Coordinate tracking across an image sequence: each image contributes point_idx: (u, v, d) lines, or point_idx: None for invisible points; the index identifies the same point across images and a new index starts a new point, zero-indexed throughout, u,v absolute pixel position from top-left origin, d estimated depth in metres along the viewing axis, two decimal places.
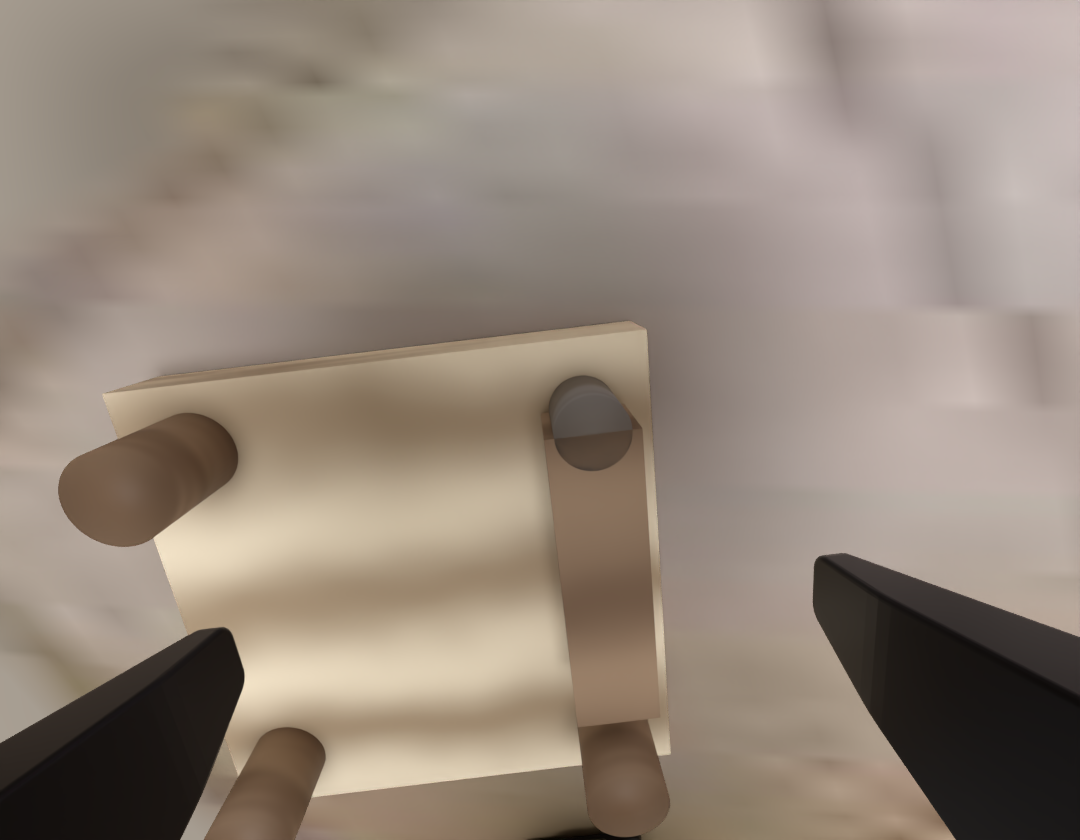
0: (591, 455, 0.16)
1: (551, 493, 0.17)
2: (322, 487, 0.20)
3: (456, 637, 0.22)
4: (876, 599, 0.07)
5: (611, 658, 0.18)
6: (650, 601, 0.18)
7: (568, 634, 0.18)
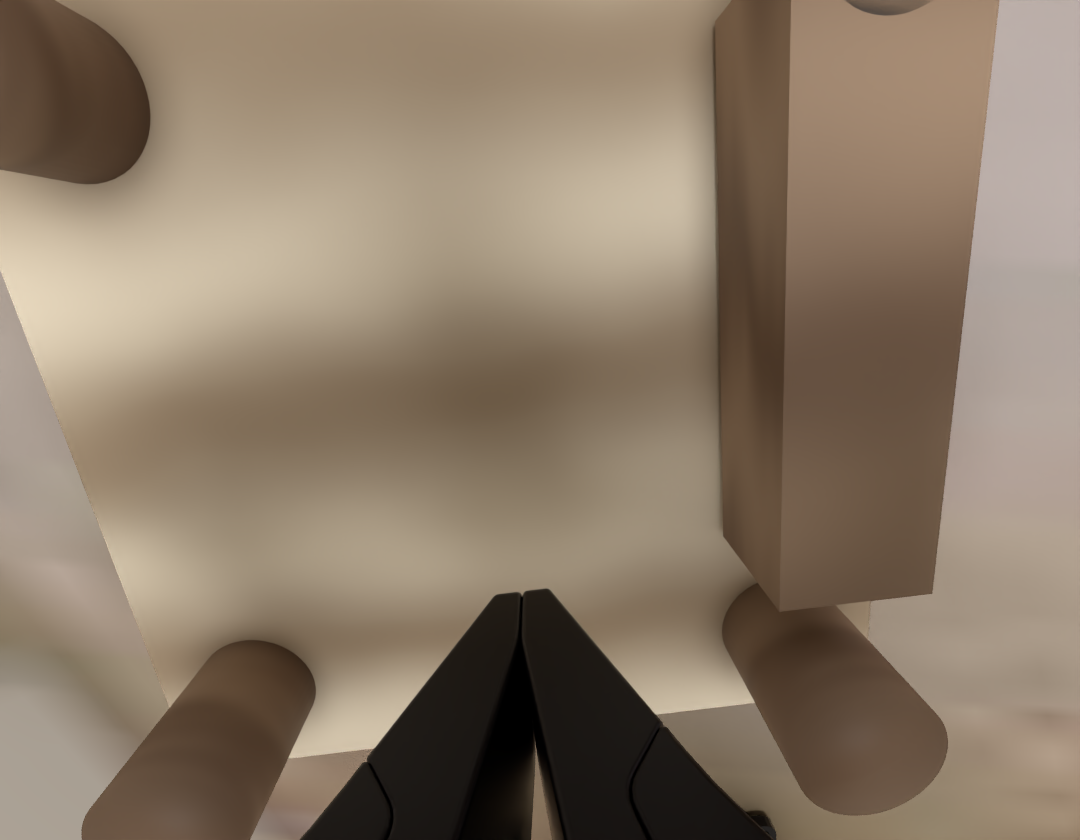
0: None
1: (791, 73, 0.08)
2: (307, 180, 0.11)
3: (535, 482, 0.13)
4: (522, 642, 0.07)
5: (861, 468, 0.10)
6: (955, 344, 0.09)
7: (785, 416, 0.09)
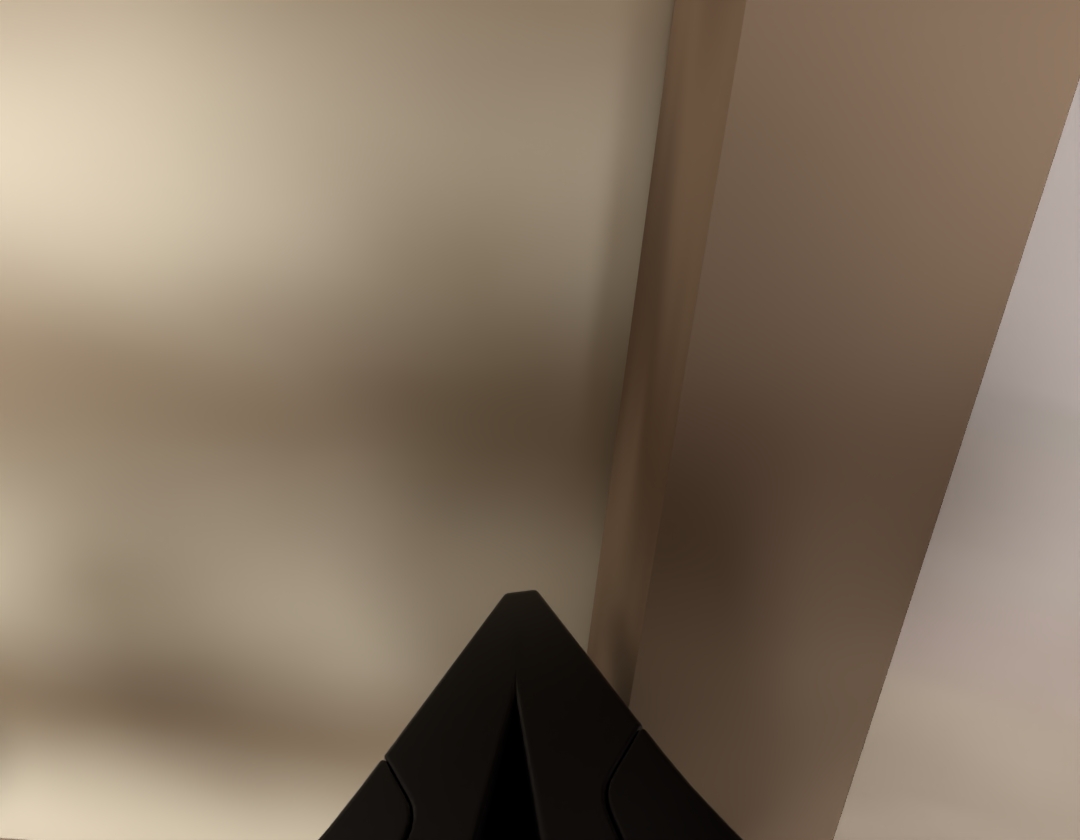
0: None
1: (749, 11, 0.04)
2: (40, 40, 0.07)
3: (330, 545, 0.09)
4: (507, 643, 0.07)
5: (760, 663, 0.06)
6: (932, 509, 0.06)
7: (656, 567, 0.06)
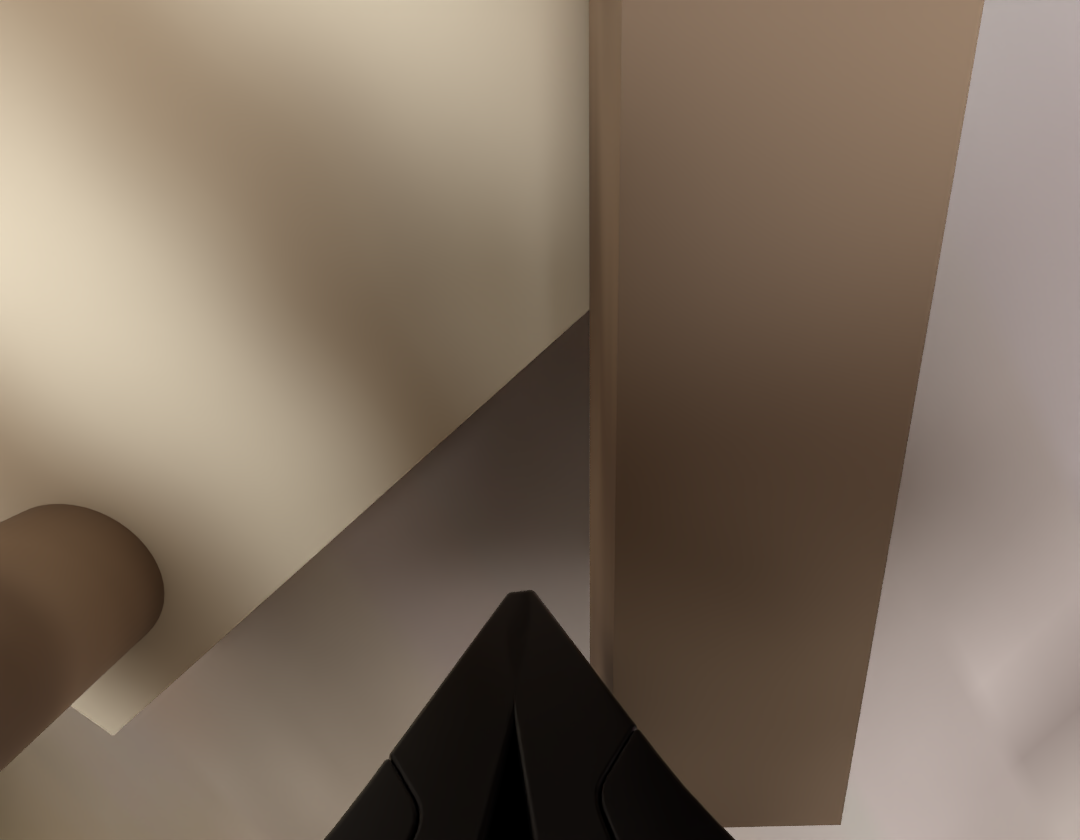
0: None
1: (626, 0, 0.04)
2: None
3: None
4: (503, 643, 0.07)
5: (738, 647, 0.06)
6: (893, 476, 0.06)
7: (619, 561, 0.06)
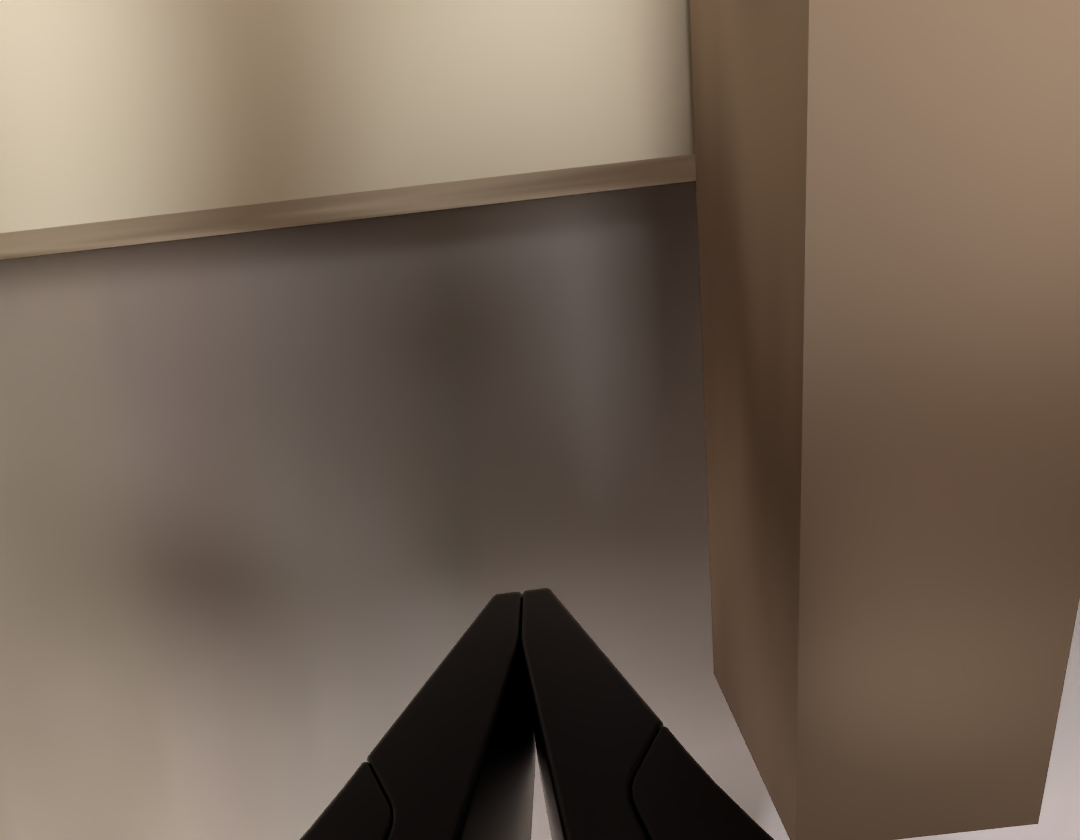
0: None
1: None
2: None
3: None
4: (522, 641, 0.07)
5: (931, 646, 0.06)
6: None
7: (803, 568, 0.06)
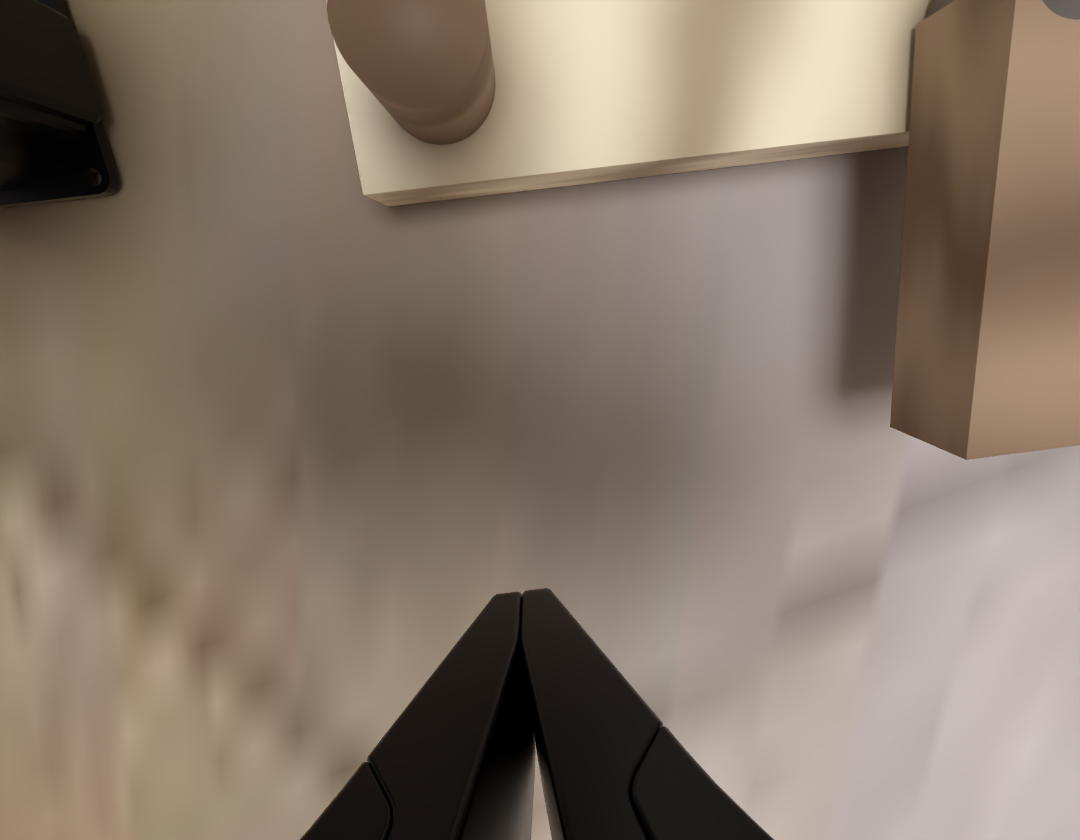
0: None
1: (1010, 59, 0.11)
2: None
3: None
4: (522, 641, 0.07)
5: (1035, 346, 0.13)
6: None
7: (983, 306, 0.13)
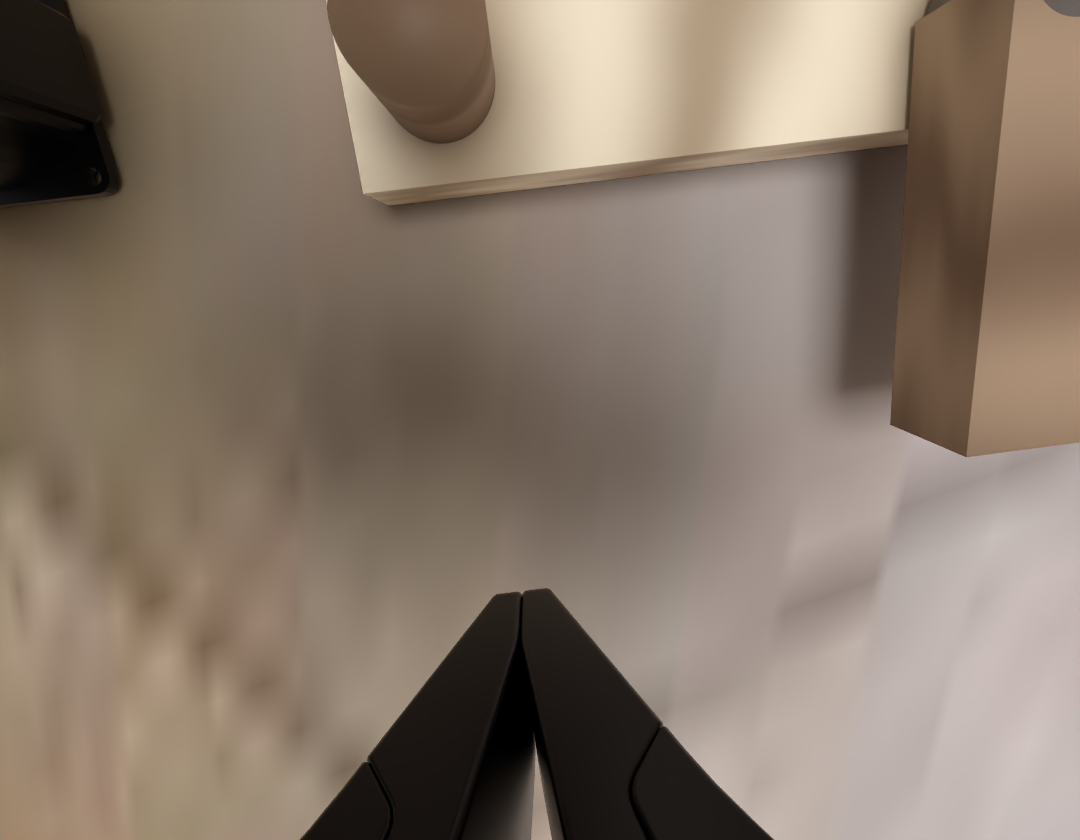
0: None
1: (1010, 56, 0.11)
2: None
3: None
4: (522, 641, 0.07)
5: (1035, 343, 0.13)
6: None
7: (983, 304, 0.13)
